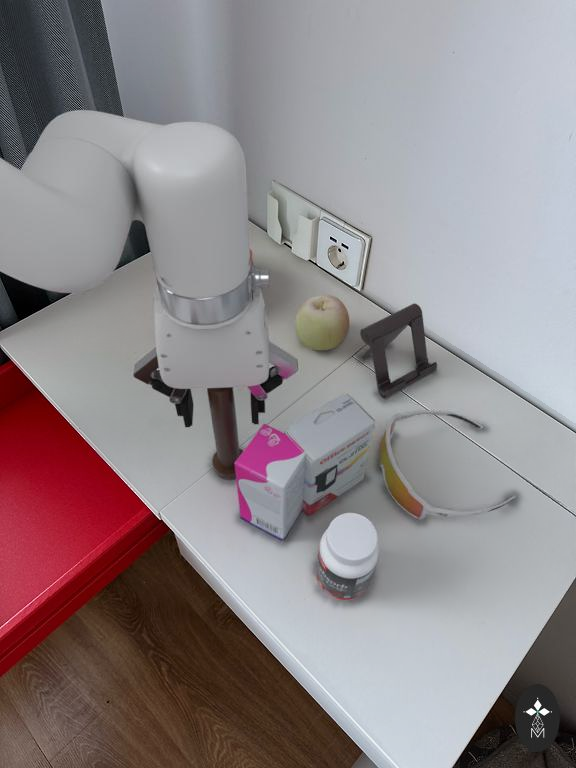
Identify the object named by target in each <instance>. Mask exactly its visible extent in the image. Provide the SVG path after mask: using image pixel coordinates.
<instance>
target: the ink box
mask: <svg viewBox="0 0 576 768" xmlns="http://www.w3.org/2000/svg"><path fill="white" fill-rule="evenodd" d="M376 424H377V421H376V419H374V417H372V416H371V414H370V413H369V412H367V410H366V409H364V408H363V407H362V406H361V405H360V404H359V402H357V400H356V399H354V398H353V397H352V396H351V395H350V394H349V393H343V394H341V395H339V396H337V397H336V398H334V399H332V400H330V401H328V402H327V403H326V404H324V405H323V406H320V407H319V408H317V409H315V410H314V411H312V412H310V413H309V414H307V415H306V416H304V417H302V418H300V419H299V420H297V421H295V422H293V423H291V424H290V425H289V427H288V428H287V429H285V431H284V433H285V434H286V435H287V436H288V437H289V438H290V437H291V438H292V439H294V440H295V441H296V443H297V444H298V445H299V446H300V447H301V448H302V449H303V450H304V451H305V452H306V454H305V453H304V452H303V451H302V450H301V449H300V448H299V447H298V446H297V447H298V448H299V449H300V450H301V451H302V452H303V453H304V454H305V478H304V495H303V510H302V512H303V513H304V514H305V515H306V516H307V517H311V516H313V514H315V513H316V512H318V511H320V510H321V509H322V508H324V507H325V506H326V505H328V504H330V503H332V501H334V500H335V499H337V498H339V497H340V496H341V495H342V494H344V493H345V492H347V491H348V490H350V489H352V488H353V487H354V486H356V485H357V484H359V483H360V482H362V481H363V480H364V478H365V473H366V468H367V463H368V459H369V455H370V450H371V445H372V441H373V436H374V433H375V427H376ZM291 438H290V439H291ZM292 439H291V440H292ZM292 441H293V440H292Z"/></svg>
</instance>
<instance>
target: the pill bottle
mask: <svg viewBox="0 0 576 768" xmlns="http://www.w3.org/2000/svg"><path fill="white" fill-rule="evenodd" d="M378 540H379V536H378V531H377V529H376V527H375V525H374V524H373V522H372V521H371V520H370V519H369V518H368V517H366V516H364V515H362V514H360V513H356V512H344V513H342V514H339V515H337V516H336V517H335V518H334V519H333V520H332V521H330V523H329V525H328V527H327V528H326V529H325V530H324V532H323V534H322V535H321V538H320V541H319V546H318V554H317V561H316V565H315V566H316V567H315V576H316V577H315V578H316V580H317V583H318V585H319V587H320V589H321V590H322V592H324V593H325V594H326V595H327V596H328V597H329V598H331V599H334V600H337V601H342V602H348V601H352V600H355V599H357V598H359V597H361V596H362V595H363V594H364V593H365V592H366V591H367V589H368V587H369V585H370V583H371V580H372V577H373V575H374V571H375V568H376V565H377V563H378V560H379V555H380V549H379V542H378Z"/></svg>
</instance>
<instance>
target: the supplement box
mask: <svg viewBox="0 0 576 768" xmlns="http://www.w3.org/2000/svg"><path fill="white" fill-rule="evenodd" d="M290 438H291V437H290ZM290 438H289V437H288V436H287V435H286V434H285V432H283V431H281V430H279V429H276V428H274V427H272V426H270V425H269V424H265V423H263V424H262V426H260V428H259V429H258V431H257V432H256V433H255V435H254V436H253V437H252V439H251V440H250V442H249V443H248V444H247V446H246V447H245V448H244V449H243V450H242V451H243V452H242V453H241V455H240V456H239V457H238V459H237V460H236V461H235V463H234V464H235V472H236V479H235V481H236V489H237V498H238V510H239V518H240V520H243V521H244V522H246V523H248V524H250V525H252V526H254V527H255V528H257V529H259V530H261V531H263V532H265V533H266V534H268V535H270V536H272V537H273V538H276V539H278V540H280V541H281V542H284V540H285V539H286V538H287V536H288V534H289V533H290V531H291V529H292V528H293V526H294V525H295V523H296V521H297V520H298V518H299V517H300V515H301V513H302V512H303V511H302V510H303V495H304V478H305V454H306V452H305V451H304V450H303V449H302V448H301V447H300V446H299V445H298V444H297V443H296V441H295V440H294V439H292V438H291V439H292V440H293V441H292V440H291V439H290ZM297 446H298V447H299V448H300V449H301V450H302V451H303V452H304V453H305V454H304V453H303V452H302V451H301V450H300V449H299V448H298V447H297Z"/></svg>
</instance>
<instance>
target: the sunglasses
mask: <svg viewBox="0 0 576 768" xmlns="http://www.w3.org/2000/svg"><path fill="white" fill-rule="evenodd" d="M419 415H434V416H446V417H450V418H451V417H452V418H455V419H458V420H461V421H463V422H465V423H468V424H469V425H471V426H473V427H475V428H477V429H478V430H479V429H480V430H482V429H484V425H481V424H480V423H478V422H476V421H475V420H473V419H471V418H469V417H467V416H464V415H462V414H460V413H457V412H453V411H449V410H436V409H433V410H432V409H427V410H426V409H423V410H421V409H420V410H410V411H404V412H399V413H396V414H395V413H394V414H393V415H392V416H391V417H390V419H389V421H388V422H387V425H386V428H385V431H384V433H383V434H384V435H383V437H382V441H381V445H380V459H379V468H381V471H382V477H383V482H384V484H385V487H386V490H387V491H388V493H389V495H390V496H391V498H392V499H393V500H394V502H395V503H396V504H397V505H398V506H399V507H400V508H401V509H402V510H404V512H406V513H407V514H409V516H411V517H413V518H414V519H416V520H419V521H422V520H423V519H425V518H426V517H427V515H431V516H437V517H442V518H445V517H459V516H475V515H480V514H485V513H489V512H492V511H495V510H498V509H500V508H502V507H504V506H505V505H507V504H509V503H510V502H511V501H513V500H514V499H515V498H516V495H512V496H510V497H509V498H507V499H505V500H504V501H502V502H501V503H498V504H495V505H493V506H489V507H486V508H481V509H476V510H452V509H446V508H441V507H436V506H432V505H429V503H428V502H426V501H425V500H424V499H423V498H421V497H420V496H419V495H418V494H417V493H416V492H415V490H414V488H413V487H412V486H411V484H410V483H409V482H408V480H407V479H406V478H405V476H404V475H403V473H402V472H401V470H400V468H399V466H398V463H397V462H396V458H395V457H394V453H393V449H392V445H391V439H392V437H393V435H394V434H395V427H396V422H398V421H399V422H400V421H403V420H407V419H410V418H412V417H415V416H419Z"/></svg>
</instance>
